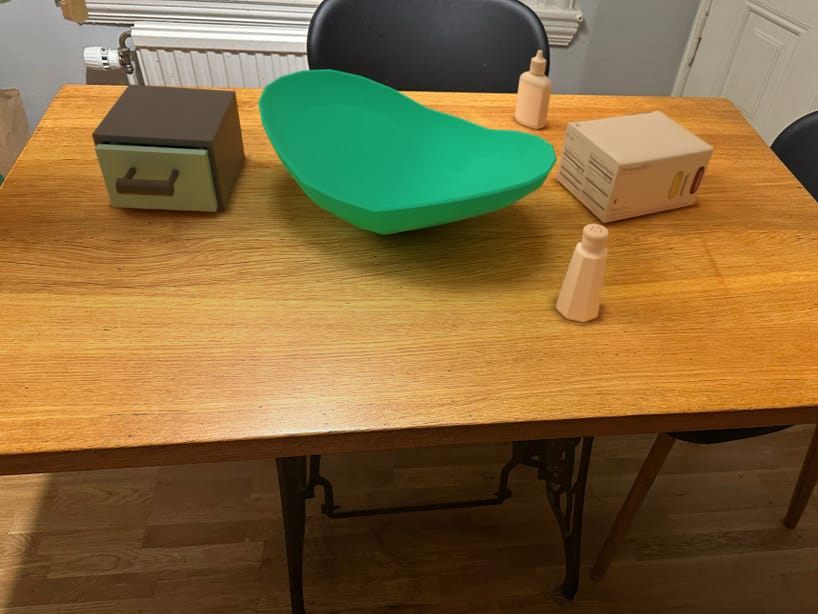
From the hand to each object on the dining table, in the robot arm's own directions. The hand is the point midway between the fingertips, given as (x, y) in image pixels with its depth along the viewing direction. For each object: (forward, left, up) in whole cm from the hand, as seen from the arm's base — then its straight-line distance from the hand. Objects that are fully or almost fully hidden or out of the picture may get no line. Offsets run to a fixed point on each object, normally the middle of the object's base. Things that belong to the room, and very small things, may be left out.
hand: (38, 10), depth 70 cm
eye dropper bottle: (+58, +36, -25) cm, 72 cm away
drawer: (+7, +6, -24) cm, 25 cm away
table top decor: (+37, +5, -25) cm, 45 cm away
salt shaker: (+58, -14, -25) cm, 64 cm away
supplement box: (+70, +14, -25) cm, 75 cm away
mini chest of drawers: (+7, +11, -25) cm, 28 cm away
